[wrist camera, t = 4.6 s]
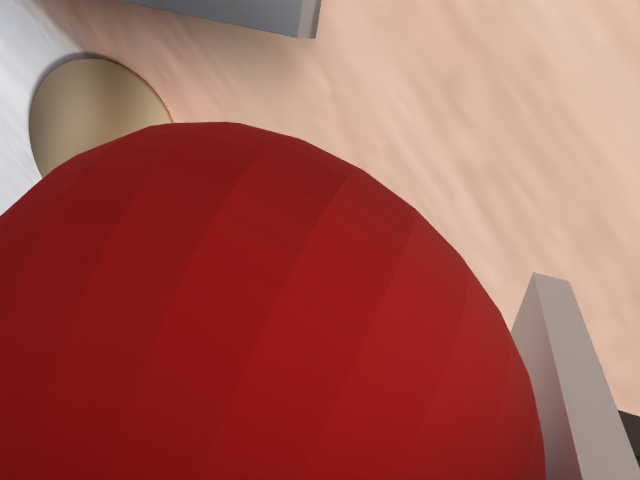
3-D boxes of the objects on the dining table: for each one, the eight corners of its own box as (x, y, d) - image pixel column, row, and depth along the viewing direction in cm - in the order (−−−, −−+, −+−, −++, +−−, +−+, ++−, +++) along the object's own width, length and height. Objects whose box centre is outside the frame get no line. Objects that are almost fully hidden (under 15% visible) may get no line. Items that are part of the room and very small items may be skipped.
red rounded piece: (184, 108, 13) (-523, 274, 4) (490, 45, 11) (602, 72, 2) (271, 431, 15) (-12, 983, 6) (528, 433, 13) (648, 1266, 4)
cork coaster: (38, 204, 31) (31, 206, 31) (33, 42, 28) (26, 42, 27) (174, 246, 29) (169, 249, 29) (187, 79, 26) (182, 80, 25)
